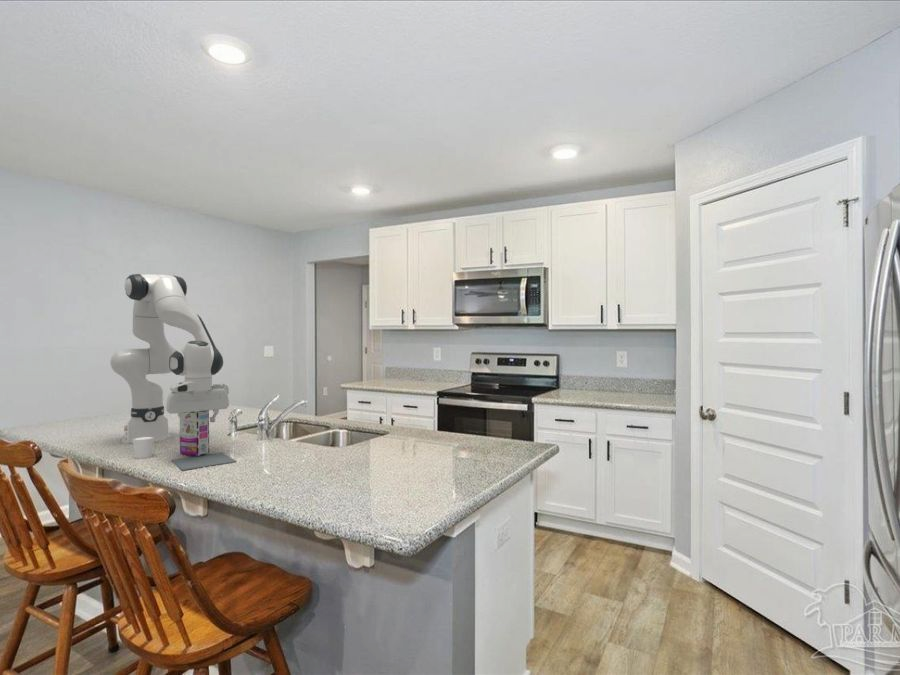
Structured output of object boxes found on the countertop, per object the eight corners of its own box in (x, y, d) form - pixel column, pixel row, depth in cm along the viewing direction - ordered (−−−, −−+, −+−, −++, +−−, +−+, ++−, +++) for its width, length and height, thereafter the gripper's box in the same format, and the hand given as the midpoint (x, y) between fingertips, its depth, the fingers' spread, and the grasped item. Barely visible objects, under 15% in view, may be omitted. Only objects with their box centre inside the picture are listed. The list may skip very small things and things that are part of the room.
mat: (171, 461, 174) (171, 459, 174) (222, 453, 185) (222, 452, 185) (182, 471, 161) (182, 469, 161) (236, 462, 172) (236, 461, 172)
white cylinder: (158, 455, 183) (158, 436, 183) (145, 459, 176) (145, 440, 176) (141, 454, 183) (141, 436, 183) (127, 459, 177) (127, 439, 177)
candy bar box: (210, 454, 182) (209, 409, 183) (197, 456, 178) (197, 411, 178) (191, 452, 187) (191, 409, 188) (179, 454, 183) (178, 410, 184)
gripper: (226, 383, 187) (226, 419, 187) (165, 386, 174) (165, 425, 174) (231, 384, 182) (231, 421, 182) (168, 388, 169) (169, 428, 169)
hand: (198, 423), depth 178 cm, fingers open, 8 cm apart
